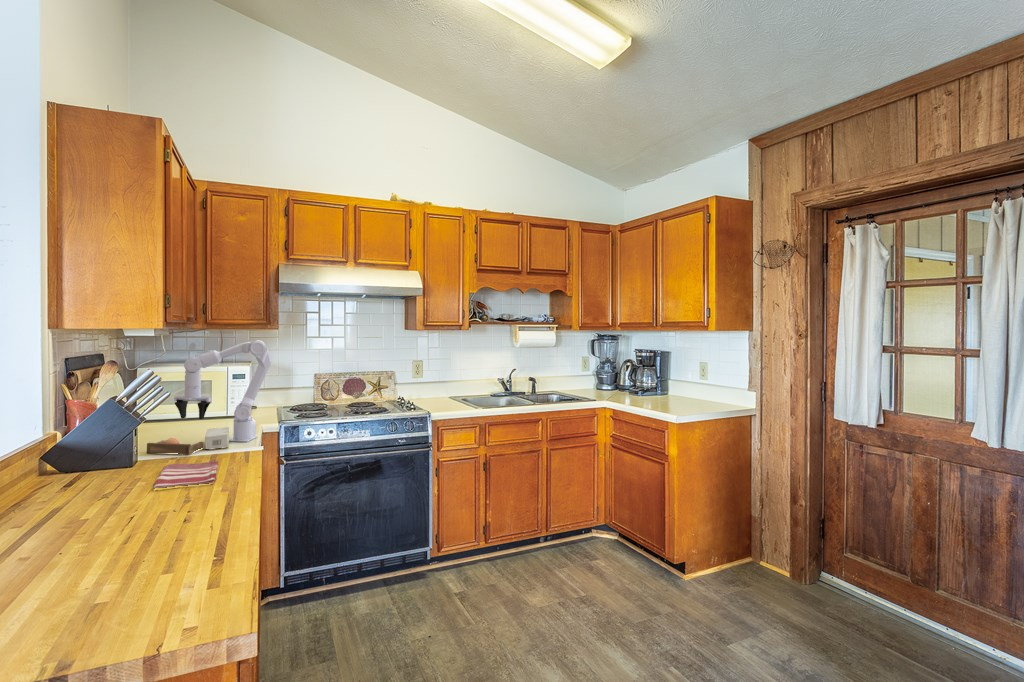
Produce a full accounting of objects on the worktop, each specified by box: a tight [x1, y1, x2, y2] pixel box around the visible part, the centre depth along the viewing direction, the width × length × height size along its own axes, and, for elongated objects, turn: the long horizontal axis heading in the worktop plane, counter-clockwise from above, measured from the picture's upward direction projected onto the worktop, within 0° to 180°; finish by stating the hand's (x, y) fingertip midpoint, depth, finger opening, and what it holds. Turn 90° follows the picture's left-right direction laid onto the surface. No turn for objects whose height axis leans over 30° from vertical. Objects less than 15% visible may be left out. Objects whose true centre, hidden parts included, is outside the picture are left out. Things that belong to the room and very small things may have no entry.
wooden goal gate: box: [146, 439, 204, 456], centre depth 198 cm, size 9×17×4 cm, turn 90°
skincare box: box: [204, 426, 230, 450], centre depth 209 cm, size 8×6×15 cm
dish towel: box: [152, 460, 219, 490], centre depth 169 cm, size 17×23×3 cm
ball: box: [165, 437, 180, 444], centre depth 199 cm, size 5×5×5 cm
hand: (192, 418), depth 211 cm, fingers open, 7 cm apart
